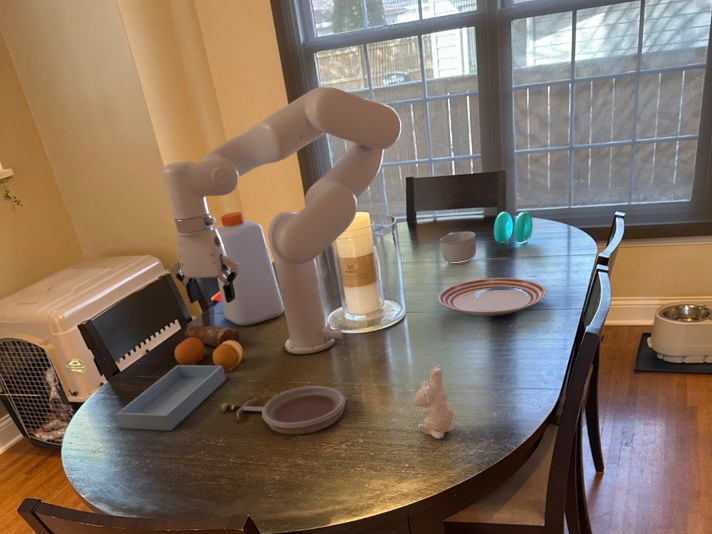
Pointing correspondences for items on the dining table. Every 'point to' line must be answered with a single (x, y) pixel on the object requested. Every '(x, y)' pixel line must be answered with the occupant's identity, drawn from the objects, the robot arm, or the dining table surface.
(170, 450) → the dining table surface
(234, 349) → the mango
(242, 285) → the plastic bottle
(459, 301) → the dinner plate
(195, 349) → the mango
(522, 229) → the teal twin oval discs
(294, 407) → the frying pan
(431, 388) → the pink rabbit figurine
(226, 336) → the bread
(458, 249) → the teacup
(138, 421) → the baking pan
